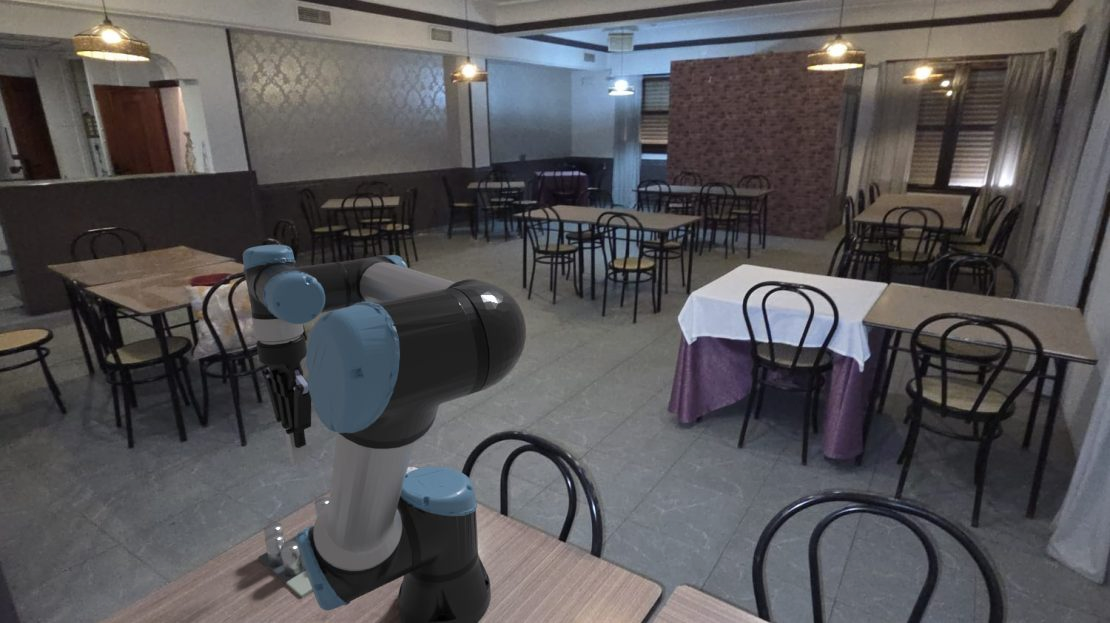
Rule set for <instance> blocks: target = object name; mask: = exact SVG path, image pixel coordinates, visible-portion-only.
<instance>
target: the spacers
mask: <svg viewBox="0 0 1110 623" xmlns="http://www.w3.org/2000/svg"><path fill="white" fill-rule="evenodd" d="M329 498H330V497H328V496H323V497H320V498H317V499H316V500H315V501H314V509H315V516H316V518H317V517H318V515H319V513H320V511H321V510H322V509H323V507H324V506H325V505H326V504H327V503H328V502H329ZM263 532H264V536H265V537H264V538H265V539H264V542H265V543H264V544H265V548H266V552H267V555H268V560H269V565H270V566H271V567H278V566H281V565H283V566H284V572H285V575H286V576H288V577H292V576H296V575H298V574H299V573H301V572H302V570H303V565H302V558H301V555H300V552H299V549H298V546H297V542H296V541H291V542H288V543H286V544H285V542H286V541H285V536H284V529H283V524H282V523H281V522H272V523H269V524H267V525H266V526H265V527H264V529H263Z"/></svg>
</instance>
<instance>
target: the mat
mask: <svg viewBox="0 0 1110 623" xmlns="http://www.w3.org/2000/svg"><path fill="white" fill-rule="evenodd" d="M291 541H296V536H294V537H292V538H290V539H288V540H287V541H285V544H286V543H288V542H291ZM258 561H259V562H261V563H262V564H263V565H264V566H265V567H266V568H268V569H269V570H270V571H271V572H272V573H273V574H274V575H276V576H277V577H278V578H279V579H280V580H282V582H283V583H285V584H286V585H287V586H288V587H289V588H290V589H291V590H292V591H294V592H295V594H297V595H298V596H300V597H301V598H304V597H305V596H307V595H309V594H311V593H313V590H312V587H311V584H310V582H309V579H308V576H307V573H306V570H305V567H304V564H303V561H302V565H303V570H302V572H301V573H299V574H298V575H296V576H292V577H288V576H286V575H285V572H284V566H283V565H281V566H278V567H271V566H270V565H269V560H268V555H267V551H266V552H264V553H263V554H260V555H259V556H258Z"/></svg>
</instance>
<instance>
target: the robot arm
mask: <svg viewBox="0 0 1110 623" xmlns="http://www.w3.org/2000/svg"><path fill="white" fill-rule="evenodd" d="M294 256H295V255H294V251H293V249H292V248H291V247H290V246H288V245H286V244H285V245H284V244H266V245H264V244H263V245H258V246H253V247H249V248H247V249H245V250H244V251H243V253H242V260H243V269H242V271H243V273H244V278H245V280H246V282H245V283H246V287H247V292H248V299H249V304H250V310H251V321H252V326H253V333H254V334H253V335H254V338H255V340H257V342H256V350H257V354H258V360H259V363H261V364H262V365H265V366H268V367H266V368H264V369H261V374H262V376H263V379H264V381H265V384H266V387H267V391H268V394H269V398H270V401H271V405H272V409H273V413H274V416H275V420H276V422H277V423H281V426H282V428H283V429H284V433H285V440H286V446H287V451H288V452H287V454H288V459H289V463H291V464H292V465H294V466H295V465H297V464H300V463H302V462H305V461H306V460H308V459H309V453H308V447H307V442H306V441H307V440H306V434H305V432H306V431H305V430H306V429H309V428H311V427H312V406H313V409H314V411H315V413H316V415H317V417H318V419H319V421H320V423H322V424H323V425H324V426H323V427H325V428H327V429H328V430H329V431H331V432H334V433H336V434H337V435H336V441H335V442H336V443H335V448H334V458H333V466H332V467H333V468H332V475H331V483H330V493H329V497H328V498H329V502H328V503H327V504H326V505H325V506H324V507H323V509H322V510H321V511H320V513H319V515H318V517H316V518H315V522H314V525H308V526H306V527H305V528H304V529H302V530H300V531H299V532H297V534H296V536H295V537H296V542H297V546H298V549H299V552H300V555H301V558H302V561H303V564H304V567H305V570H306V573H307V576H308V579H309V582H310V584H311V587H312V590H313V591H312V593H313V595H314V597H315V600H316V602H317V604H318V607H319V608H320V609H321V610H323V611H332V610H334V609H337V608H340V607H342V606H347V605H349V604H350V603H351V602H352V601H354V600H356V599H358V598H360V597H362V596H365V595H367V594H369V593H371V592H372V591H374V590H376V589H379V588H381V587H383V586H385V585H387V584H389V583H391V582H393V581H396V580H398V579H400V578H401V577H403V579H402V582H401V584H400V587H399V589H398V590H399V591H398V594H397V596H398V597H397V600H398V602H397V603H398V612H399V616H400V618H401V620H402V622H403V623H477V622H478V621H479V620H480V619H481V618H482V617H483V616H484V614H485V613H486V612H487V610H488V608H489V606H490V604H491V603H490V602H491V597H492V593H491V592H492V591H491V589H492V588H491V580H490V577H489V574H488V572H487V569H486V568H485V566H484V564H483V562H482V560H481V558H480V555H479V545H478V544H479V543H478V541H479V539H478V525H477V524H478V522H477V521H478V520H477V508H478V503H477V502H478V501H477V499H476V493H475V492H476V491H475V488H474V487H475V486H474V483H473V482H472V479H471V478H469V476H467V475H466V474H464V473H463V472H462V471H459V470H457V469H454V468H451V467H444V466H424V468H423V467H419V468H418V469H416V470H413V471H411V472H409V473H407V474H406V472H407V468H408V467H409V464H410V460H411V456H412V454H413V449H414V445H415V443H416V442H418V441H420V440H421V439H422V438H424V436H426V434H428V432H429V431H430V429H431V428H432V426H433V425H434V422H435V420H436V416H437V413H438V410H439V406H441V405H442V404H444V403H448V402H450V401H454V400H457V399H460V398H464V397H466V396H470V395H473V394H475V393H478V392H481V391H485V390H487V389H489V388H492V387H493V386H496V385H497V384H498V383H500V382H502V380H504V379H505V378H506V377H507V376H508V375H509V374H510V373H511V372H512V371H513V370H514V368H515V367H516V366H517V363H518V362H519V361H520V358H521V356H522V354H523V351H524V349H525V343H526V338H527V336H526V335H527V327H526V320H525V316H524V313H523V311H522V308H521V307H520V305H519V304H518V302H517V301H516V299H515V298H514V297H513V296H512V295H511V294H510V293H509V292H507V291H506V290H505V289H503V288H501V287H500V286H499V285H495V284H493V283H490V282H486V281H482V280H478V279H475V278H465V279H460V280H457V281H453V280H449V279H445V278H442V277H439V276H435V275H431V274H429V273H425V272H423V271H418V270H414V269H411V268H408V265H407V264H406V262H405V261H404V259H403V258H402V257H401V256H399V255H396V254H391V255H375V256H373V257H372V256H371V257H366V258H365V257H364V258H359V259H353V260H345V261H337V262H336V261H335V262H327V263H322V264H321V263H319V264H314V265H313V264H312V265H305V266H297V267H296V264H297V261H296V260H295V257H294ZM323 313H325V314H324V315H322V316H321V317H319V318H318V320H317V321H316V322H315V323H314V325H313V327H312V329H311V332H310V334H309V337H308V341H307V342H306V337H305V335H304V334H303V333H304V332H305V330H304V324H307V323H309V322H312V320H314V319H316V318H317V317H318V316H320V314H323ZM304 359H305V367H306V369H307V371H308V374H307V375H308V376H307V377H306V378H307V379H306V380H307V381H306V380H305V378H304V369H303V368H302V364H301V362H302V360H304Z"/></svg>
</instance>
